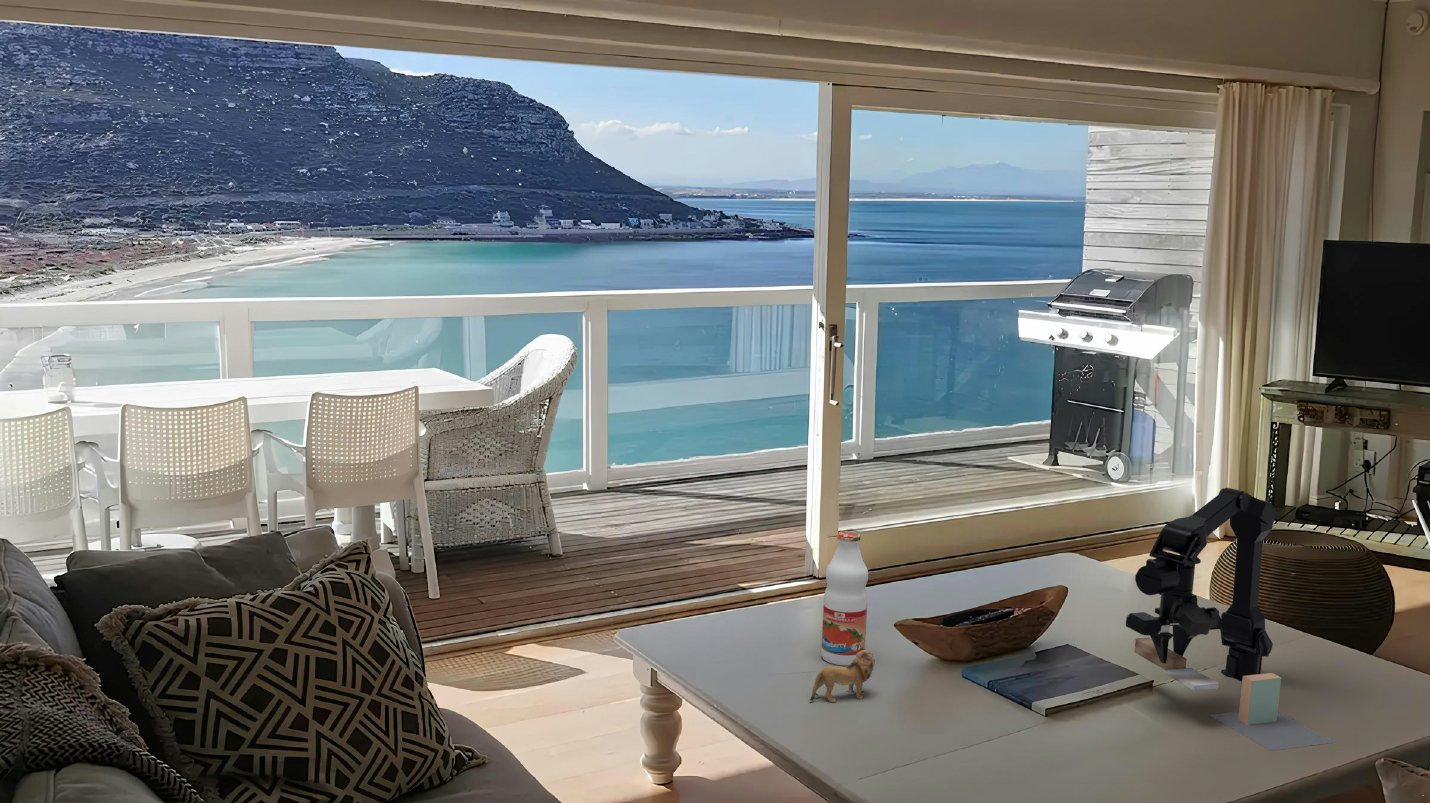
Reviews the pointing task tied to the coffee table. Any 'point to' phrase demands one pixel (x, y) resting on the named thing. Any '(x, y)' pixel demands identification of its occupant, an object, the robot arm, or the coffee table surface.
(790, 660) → the coffee table surface
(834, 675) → the lion figurine
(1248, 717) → the tile
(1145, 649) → the spatula
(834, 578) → the fruit juice
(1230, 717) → the mat
